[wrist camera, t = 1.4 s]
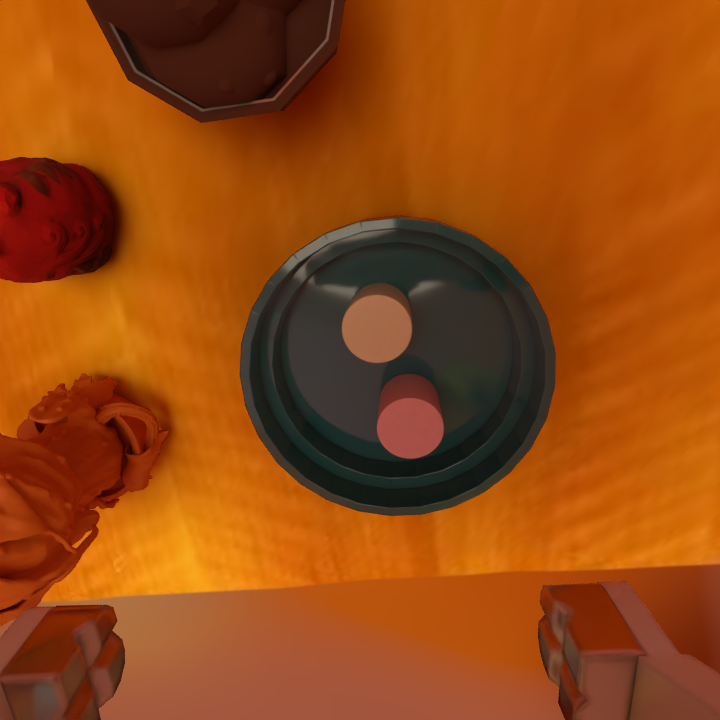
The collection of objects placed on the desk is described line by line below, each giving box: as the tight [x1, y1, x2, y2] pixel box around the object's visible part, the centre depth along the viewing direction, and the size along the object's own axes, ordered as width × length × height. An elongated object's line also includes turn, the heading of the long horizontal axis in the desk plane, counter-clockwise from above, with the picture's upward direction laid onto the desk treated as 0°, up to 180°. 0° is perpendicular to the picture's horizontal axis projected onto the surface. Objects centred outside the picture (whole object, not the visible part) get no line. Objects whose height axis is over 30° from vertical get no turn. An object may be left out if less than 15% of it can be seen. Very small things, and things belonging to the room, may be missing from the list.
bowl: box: [240, 215, 555, 516], centre depth 31 cm, size 18×18×5 cm
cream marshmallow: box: [342, 283, 412, 363], centre depth 30 cm, size 4×4×4 cm
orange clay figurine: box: [0, 374, 169, 626], centre depth 29 cm, size 11×11×18 cm
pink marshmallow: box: [377, 374, 444, 459], centre depth 32 cm, size 4×4×4 cm
